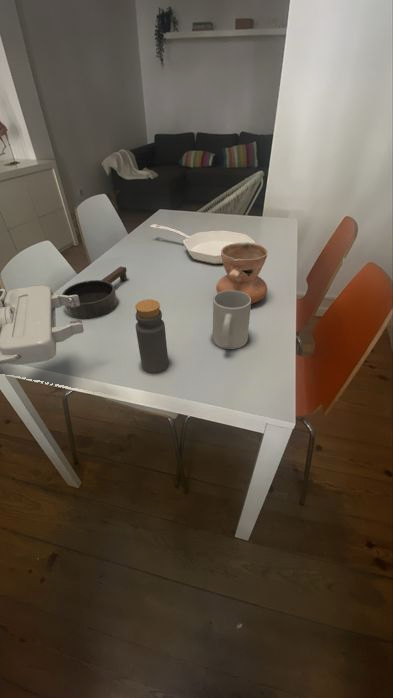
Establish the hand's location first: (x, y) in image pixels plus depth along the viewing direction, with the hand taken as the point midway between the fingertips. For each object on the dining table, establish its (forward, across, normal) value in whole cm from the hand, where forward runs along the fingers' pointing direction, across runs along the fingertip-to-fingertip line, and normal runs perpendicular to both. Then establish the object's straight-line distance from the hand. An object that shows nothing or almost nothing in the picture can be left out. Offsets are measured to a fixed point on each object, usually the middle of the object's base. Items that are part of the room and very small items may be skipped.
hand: (80, 312), depth 57 cm
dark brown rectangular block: (+10, +42, +16) cm, 46 cm away
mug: (+30, +1, +16) cm, 35 cm away
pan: (+45, +62, +17) cm, 78 cm away
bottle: (+12, 0, +16) cm, 20 cm away
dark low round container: (+1, +32, +16) cm, 36 cm away
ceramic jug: (+43, +21, +16) cm, 51 cm away
